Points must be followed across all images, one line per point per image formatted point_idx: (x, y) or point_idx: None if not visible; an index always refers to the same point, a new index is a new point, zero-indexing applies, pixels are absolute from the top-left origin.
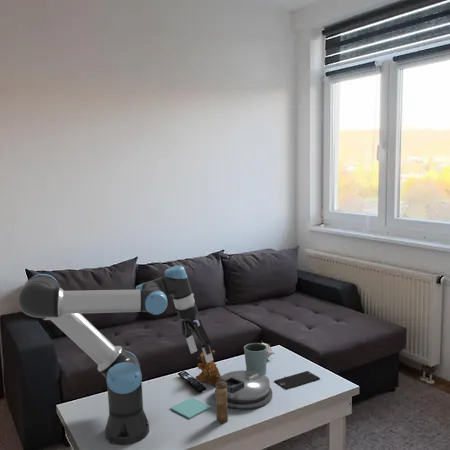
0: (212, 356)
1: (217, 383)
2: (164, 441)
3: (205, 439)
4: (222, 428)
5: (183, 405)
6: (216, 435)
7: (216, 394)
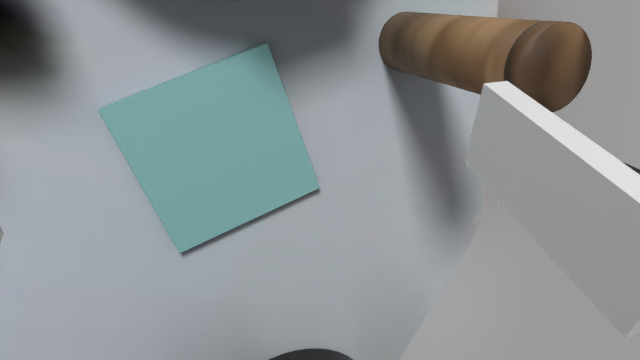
0: (539, 104)
1: (536, 94)
2: (411, 303)
3: None
4: None
5: (186, 185)
6: None
7: None
